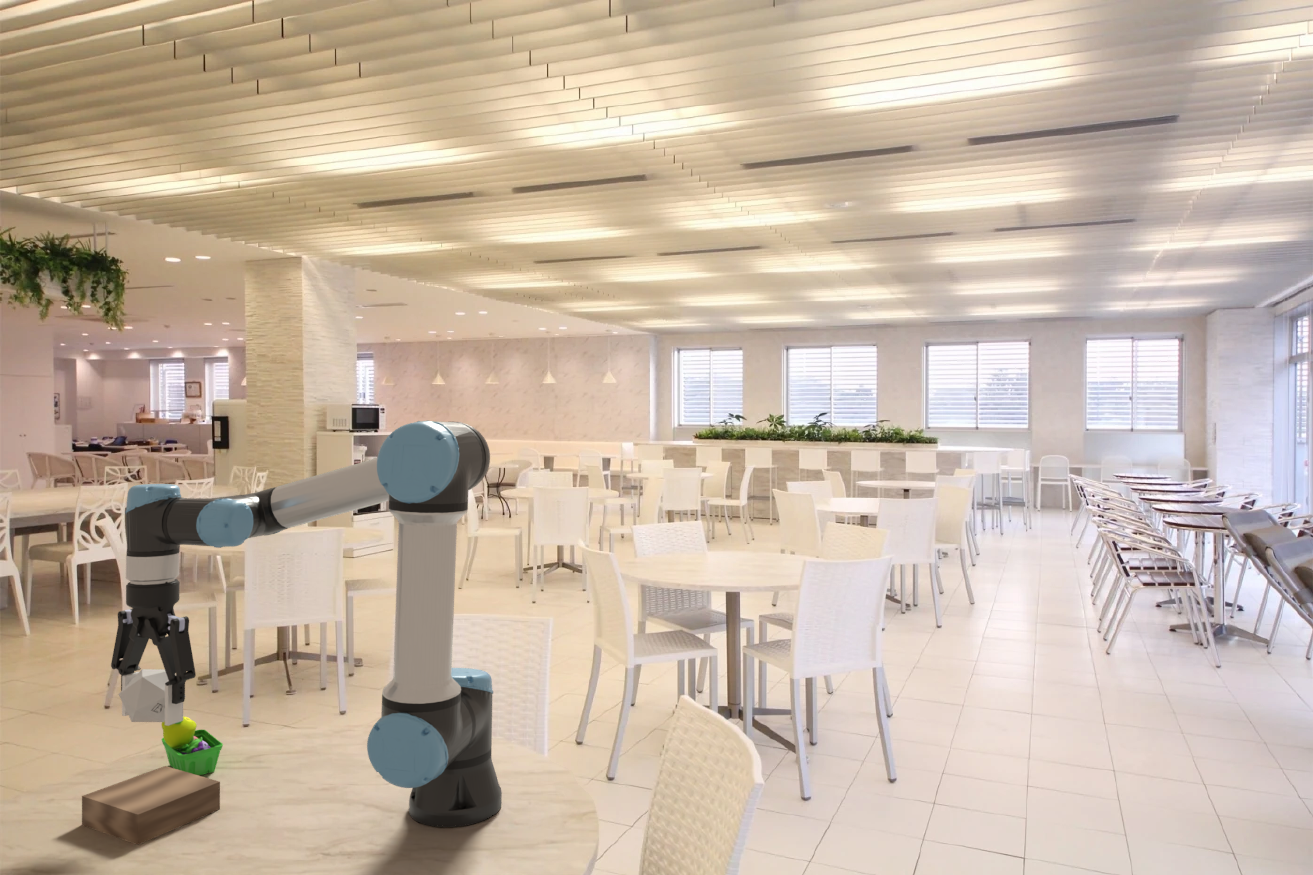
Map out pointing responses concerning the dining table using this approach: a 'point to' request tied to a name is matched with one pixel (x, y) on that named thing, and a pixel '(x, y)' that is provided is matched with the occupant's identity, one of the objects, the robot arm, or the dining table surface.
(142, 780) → the walnut block
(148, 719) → the die
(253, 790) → the dining table surface
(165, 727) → the fruit basket
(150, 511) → the robot arm
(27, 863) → the dining table surface
